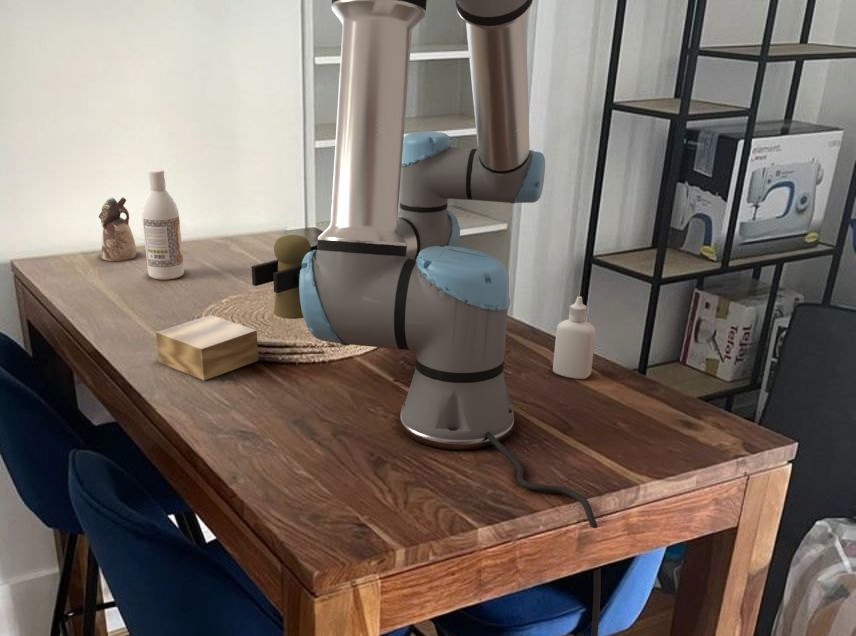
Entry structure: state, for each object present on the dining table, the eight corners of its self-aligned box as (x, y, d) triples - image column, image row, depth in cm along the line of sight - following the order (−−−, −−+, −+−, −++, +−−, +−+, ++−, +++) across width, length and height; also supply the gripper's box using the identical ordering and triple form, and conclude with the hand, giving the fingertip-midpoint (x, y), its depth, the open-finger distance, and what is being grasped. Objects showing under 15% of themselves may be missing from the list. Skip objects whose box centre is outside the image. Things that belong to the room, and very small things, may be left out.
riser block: (258, 360, 159) (256, 330, 157) (204, 380, 152) (201, 349, 150) (213, 344, 166) (210, 314, 163) (159, 362, 159) (155, 332, 156)
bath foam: (185, 279, 197) (176, 173, 187) (149, 281, 196) (137, 175, 186) (183, 269, 203) (173, 165, 193) (147, 271, 202) (136, 167, 192)
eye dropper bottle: (571, 365, 156) (579, 289, 151) (595, 377, 152) (604, 300, 146) (548, 370, 155) (555, 294, 149) (571, 383, 150) (579, 304, 144)
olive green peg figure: (309, 320, 145) (307, 243, 140) (268, 317, 146) (265, 241, 141) (319, 306, 150) (317, 232, 145) (280, 304, 151) (277, 230, 146)
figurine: (103, 252, 214) (96, 194, 208) (138, 251, 215) (131, 193, 209) (100, 261, 208) (92, 202, 202) (135, 260, 208) (128, 201, 202)
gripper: (420, 283, 153) (306, 319, 138) (342, 261, 163) (227, 292, 149) (422, 233, 149) (304, 264, 135) (341, 214, 160) (224, 241, 145)
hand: (264, 279), depth 142 cm, fingers closed on olive green peg figure, 4 cm apart
